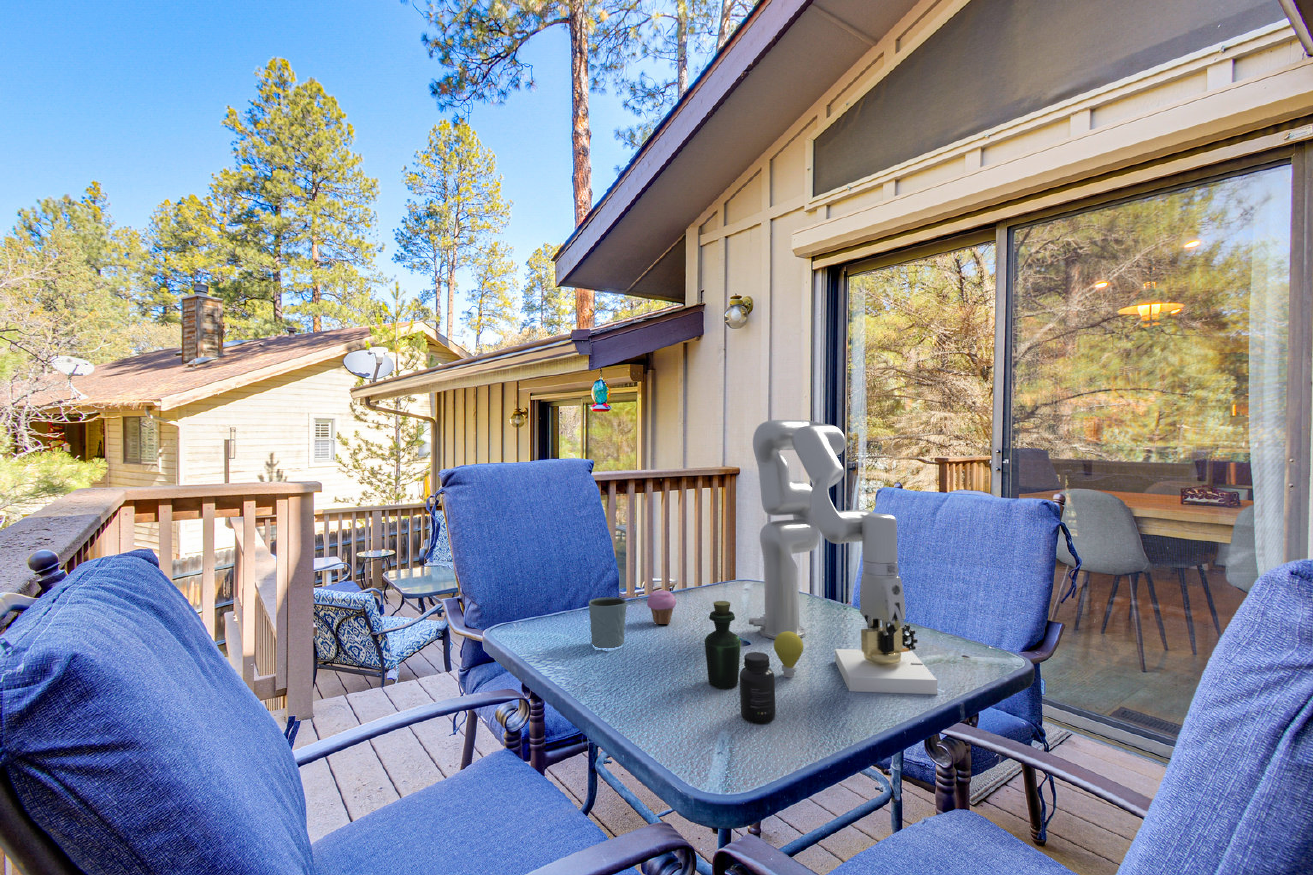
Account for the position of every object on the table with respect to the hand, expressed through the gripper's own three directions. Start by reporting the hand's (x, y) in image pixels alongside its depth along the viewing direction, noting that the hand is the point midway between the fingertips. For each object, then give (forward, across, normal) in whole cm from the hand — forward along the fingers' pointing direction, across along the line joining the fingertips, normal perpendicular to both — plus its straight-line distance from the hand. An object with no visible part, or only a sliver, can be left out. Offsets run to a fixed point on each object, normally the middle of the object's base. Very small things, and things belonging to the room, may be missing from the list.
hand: (881, 648), depth 137 cm
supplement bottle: (+7, -6, +36) cm, 38 cm away
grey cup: (+7, +46, +51) cm, 69 cm away
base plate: (+6, 0, 0) cm, 6 cm away
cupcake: (+7, +59, +30) cm, 67 cm away
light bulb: (+7, +9, +19) cm, 22 cm away
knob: (+3, 0, -1) cm, 3 cm away
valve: (+7, +12, -13) cm, 19 cm away
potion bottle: (+7, +11, +35) cm, 37 cm away
